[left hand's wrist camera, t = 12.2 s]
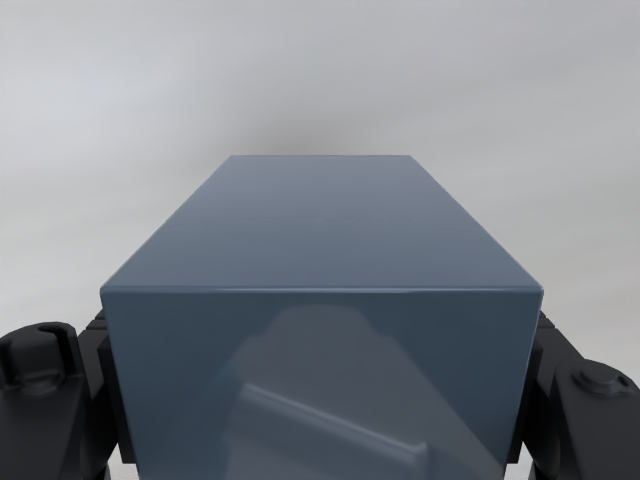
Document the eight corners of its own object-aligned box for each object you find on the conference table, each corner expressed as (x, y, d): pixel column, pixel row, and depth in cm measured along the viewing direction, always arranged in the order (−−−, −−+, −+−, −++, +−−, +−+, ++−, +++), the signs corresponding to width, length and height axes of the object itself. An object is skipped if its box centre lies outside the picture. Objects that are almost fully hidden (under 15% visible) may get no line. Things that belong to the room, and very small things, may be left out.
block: (229, 154, 15) (95, 288, 6) (411, 154, 15) (547, 288, 6) (242, 315, 17) (158, 582, 8) (399, 315, 17) (483, 582, 8)
